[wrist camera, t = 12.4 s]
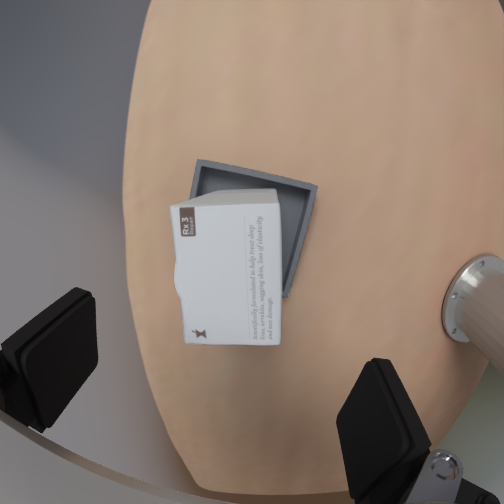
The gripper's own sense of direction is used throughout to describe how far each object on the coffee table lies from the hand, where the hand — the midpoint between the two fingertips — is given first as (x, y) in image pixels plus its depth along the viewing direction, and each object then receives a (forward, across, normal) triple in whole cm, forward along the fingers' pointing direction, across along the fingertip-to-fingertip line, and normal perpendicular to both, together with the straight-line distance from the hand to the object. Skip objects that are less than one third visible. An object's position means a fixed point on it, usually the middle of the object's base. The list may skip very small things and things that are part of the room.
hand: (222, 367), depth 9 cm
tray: (+22, +1, 0) cm, 22 cm away
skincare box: (+22, +1, 0) cm, 22 cm away
